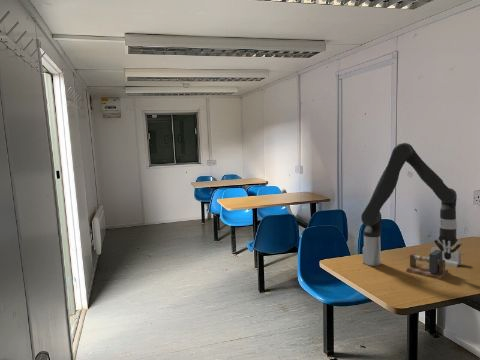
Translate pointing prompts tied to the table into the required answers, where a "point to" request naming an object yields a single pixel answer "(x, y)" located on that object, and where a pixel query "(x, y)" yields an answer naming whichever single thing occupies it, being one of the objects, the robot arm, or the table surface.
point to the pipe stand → (426, 267)
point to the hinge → (453, 260)
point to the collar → (434, 261)
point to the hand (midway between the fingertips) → (447, 259)
